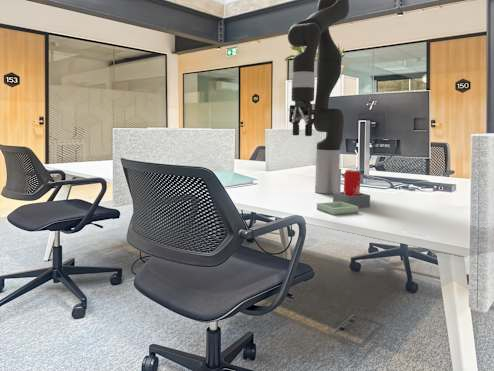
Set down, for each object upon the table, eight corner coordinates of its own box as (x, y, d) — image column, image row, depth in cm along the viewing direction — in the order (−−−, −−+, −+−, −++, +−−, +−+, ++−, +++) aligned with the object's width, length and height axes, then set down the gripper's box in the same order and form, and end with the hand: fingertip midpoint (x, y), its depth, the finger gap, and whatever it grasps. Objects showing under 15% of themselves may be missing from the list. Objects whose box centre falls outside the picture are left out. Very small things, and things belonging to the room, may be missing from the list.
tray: (340, 207, 136) (340, 201, 136) (358, 212, 128) (358, 206, 127) (316, 209, 132) (316, 203, 132) (333, 215, 124) (333, 208, 124)
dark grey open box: (353, 202, 145) (353, 191, 144) (369, 207, 137) (370, 195, 137) (332, 204, 142) (333, 192, 141) (348, 208, 134) (349, 196, 133)
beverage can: (349, 203, 143) (351, 169, 141) (362, 205, 139) (363, 170, 137) (339, 205, 140) (341, 170, 138) (352, 207, 136) (354, 171, 134)
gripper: (324, 85, 132) (322, 136, 134) (302, 88, 145) (301, 134, 147) (304, 84, 129) (302, 136, 132) (283, 87, 142) (282, 135, 145)
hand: (301, 135), depth 140 cm, fingers open, 8 cm apart
